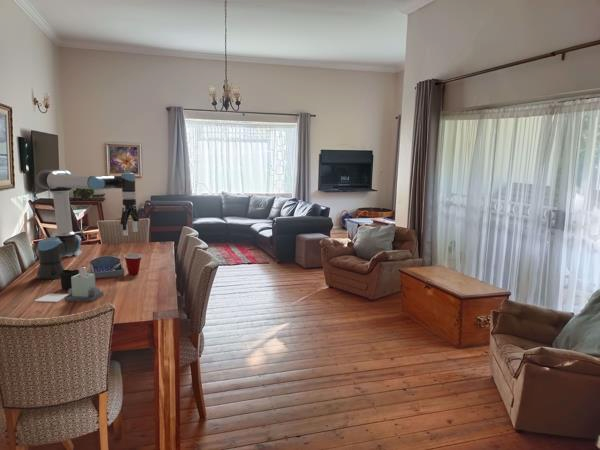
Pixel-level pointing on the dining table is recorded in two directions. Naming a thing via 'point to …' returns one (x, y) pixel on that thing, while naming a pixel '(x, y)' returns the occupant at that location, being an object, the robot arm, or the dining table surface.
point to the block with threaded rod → (94, 295)
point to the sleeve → (83, 285)
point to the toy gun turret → (79, 249)
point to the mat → (51, 298)
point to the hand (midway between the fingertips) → (130, 233)
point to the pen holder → (67, 278)
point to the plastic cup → (133, 263)
